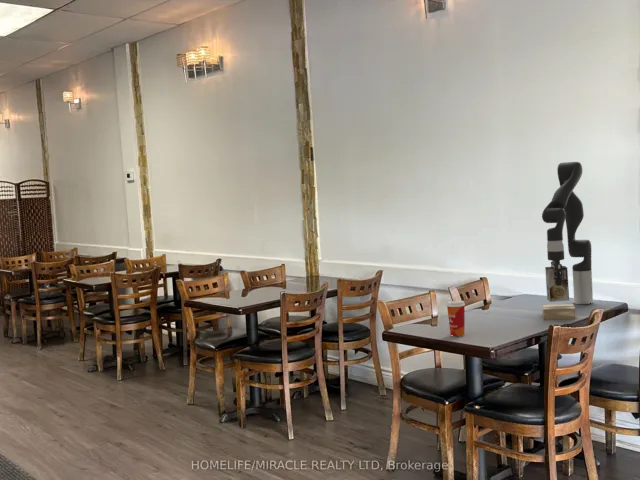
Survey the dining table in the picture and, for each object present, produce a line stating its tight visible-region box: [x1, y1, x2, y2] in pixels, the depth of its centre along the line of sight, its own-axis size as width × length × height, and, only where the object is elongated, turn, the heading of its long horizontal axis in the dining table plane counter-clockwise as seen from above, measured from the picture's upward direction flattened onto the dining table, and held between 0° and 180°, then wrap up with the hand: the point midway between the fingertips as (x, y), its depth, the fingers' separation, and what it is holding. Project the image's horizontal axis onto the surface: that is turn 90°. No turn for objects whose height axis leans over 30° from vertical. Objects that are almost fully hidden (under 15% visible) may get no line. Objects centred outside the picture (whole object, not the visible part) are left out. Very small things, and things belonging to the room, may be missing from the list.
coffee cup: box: [446, 300, 466, 337], centre depth 293 cm, size 8×8×15 cm
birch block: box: [541, 303, 577, 320], centre depth 319 cm, size 13×14×5 cm
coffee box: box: [544, 265, 570, 303], centre depth 318 cm, size 9×6×16 cm
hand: (557, 284), depth 318 cm, fingers closed on coffee box, 6 cm apart
